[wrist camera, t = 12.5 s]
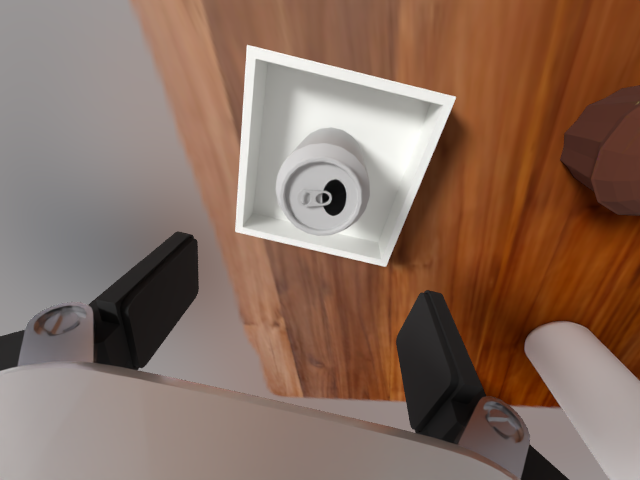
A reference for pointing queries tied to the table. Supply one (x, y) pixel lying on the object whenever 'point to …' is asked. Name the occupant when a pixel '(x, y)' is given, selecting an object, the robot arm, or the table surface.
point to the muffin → (608, 150)
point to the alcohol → (591, 393)
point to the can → (324, 183)
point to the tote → (341, 113)
